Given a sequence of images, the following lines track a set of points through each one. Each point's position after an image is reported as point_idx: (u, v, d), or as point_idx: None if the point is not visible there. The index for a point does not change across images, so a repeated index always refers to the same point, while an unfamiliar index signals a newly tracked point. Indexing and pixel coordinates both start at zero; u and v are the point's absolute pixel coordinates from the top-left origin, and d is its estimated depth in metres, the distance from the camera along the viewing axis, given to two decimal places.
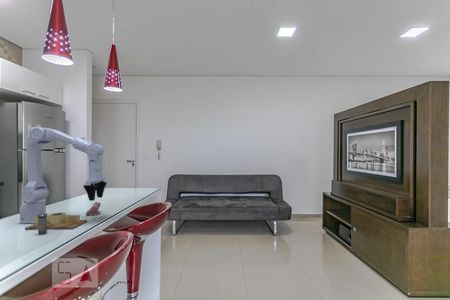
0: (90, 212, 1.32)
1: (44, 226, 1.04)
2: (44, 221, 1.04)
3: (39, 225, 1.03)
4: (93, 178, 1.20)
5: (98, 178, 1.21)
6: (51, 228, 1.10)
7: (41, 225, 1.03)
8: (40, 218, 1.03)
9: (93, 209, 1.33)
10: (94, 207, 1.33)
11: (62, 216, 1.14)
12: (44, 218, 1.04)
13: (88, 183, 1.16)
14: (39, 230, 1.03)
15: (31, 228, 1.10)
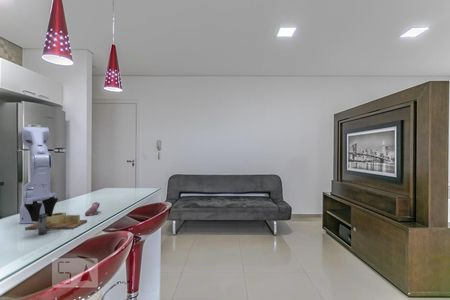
0: (89, 212, 1.32)
1: (44, 226, 1.04)
2: (44, 221, 1.04)
3: (39, 225, 1.03)
4: (37, 195, 1.01)
5: (44, 195, 1.02)
6: (51, 228, 1.10)
7: (41, 225, 1.03)
8: (40, 218, 1.03)
9: (92, 209, 1.33)
10: (93, 207, 1.33)
11: (62, 216, 1.14)
12: (44, 218, 1.04)
13: (29, 201, 0.97)
14: (39, 230, 1.03)
15: (31, 228, 1.10)
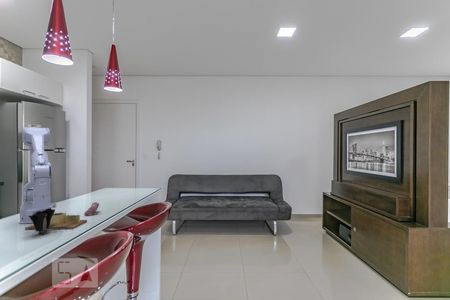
0: (88, 212, 1.32)
1: (44, 226, 1.04)
2: (44, 221, 1.04)
3: None
4: (38, 206, 1.01)
5: (44, 206, 1.02)
6: (51, 228, 1.10)
7: None
8: None
9: (91, 209, 1.33)
10: (92, 207, 1.33)
11: (62, 216, 1.14)
12: (44, 218, 1.04)
13: (29, 213, 0.97)
14: None
15: (31, 228, 1.10)
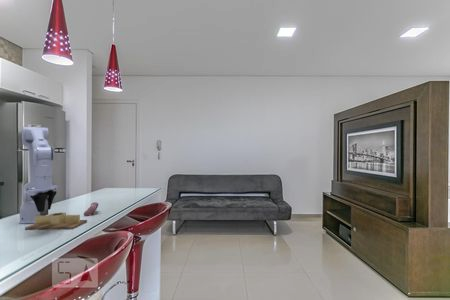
0: (88, 212, 1.32)
1: (46, 207, 1.05)
2: (46, 202, 1.05)
3: None
4: (39, 187, 1.03)
5: (46, 187, 1.04)
6: (51, 228, 1.10)
7: None
8: None
9: (91, 209, 1.32)
10: (92, 207, 1.33)
11: (62, 216, 1.14)
12: (46, 199, 1.05)
13: (31, 193, 0.98)
14: None
15: (31, 228, 1.10)
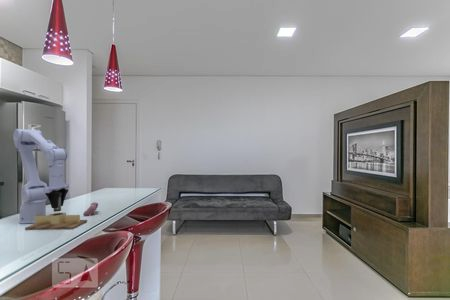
0: (87, 212, 1.32)
1: (59, 204, 1.15)
2: (59, 199, 1.15)
3: None
4: (53, 185, 1.12)
5: (59, 185, 1.13)
6: (51, 228, 1.10)
7: None
8: None
9: (90, 209, 1.32)
10: (92, 207, 1.33)
11: (62, 216, 1.14)
12: (59, 196, 1.15)
13: (46, 191, 1.08)
14: None
15: (31, 228, 1.10)
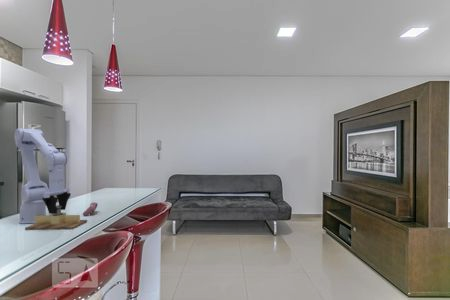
0: (87, 212, 1.32)
1: None
2: (59, 212, 1.14)
3: None
4: (53, 190, 1.12)
5: (59, 189, 1.13)
6: (51, 228, 1.10)
7: None
8: None
9: (90, 209, 1.32)
10: (91, 207, 1.33)
11: (62, 216, 1.14)
12: (59, 209, 1.14)
13: (46, 195, 1.08)
14: None
15: (31, 228, 1.10)
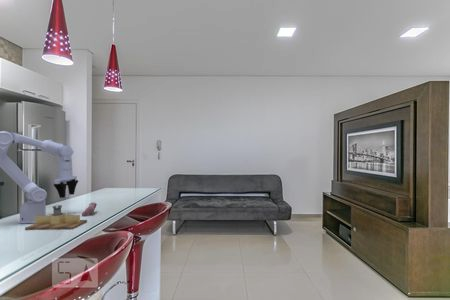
0: (86, 212, 1.32)
1: None
2: (59, 212, 1.14)
3: None
4: (63, 177, 1.30)
5: (68, 177, 1.31)
6: (51, 228, 1.10)
7: None
8: (55, 209, 1.14)
9: (89, 209, 1.32)
10: (90, 207, 1.33)
11: (62, 216, 1.14)
12: (59, 209, 1.15)
13: (57, 182, 1.26)
14: None
15: (31, 228, 1.10)
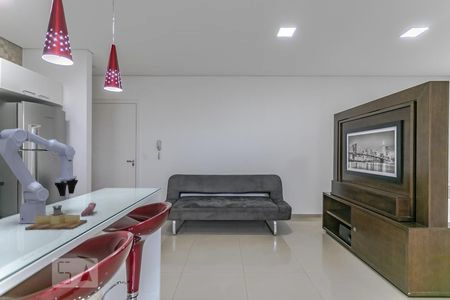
0: (85, 212, 1.32)
1: None
2: (59, 212, 1.14)
3: (55, 215, 1.14)
4: (64, 176, 1.34)
5: (68, 176, 1.35)
6: (51, 228, 1.10)
7: None
8: (55, 209, 1.14)
9: (88, 209, 1.32)
10: (89, 207, 1.33)
11: (62, 216, 1.14)
12: (59, 209, 1.15)
13: (58, 180, 1.30)
14: None
15: (31, 228, 1.10)
